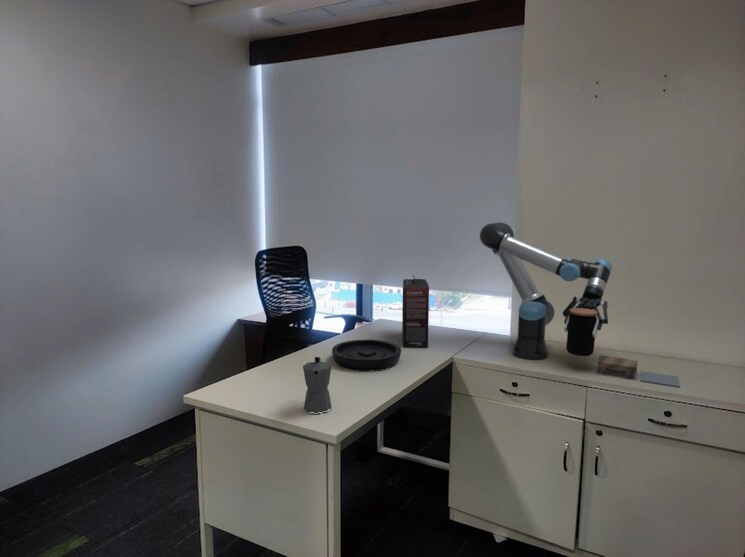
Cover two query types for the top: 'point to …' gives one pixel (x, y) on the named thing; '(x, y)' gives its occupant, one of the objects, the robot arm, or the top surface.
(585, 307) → the robot arm
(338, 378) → the top surface
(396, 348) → the round tray
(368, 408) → the top surface
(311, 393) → the coffeepot
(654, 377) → the pad
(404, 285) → the headset box
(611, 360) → the brown toy cart
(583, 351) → the coffee jar
